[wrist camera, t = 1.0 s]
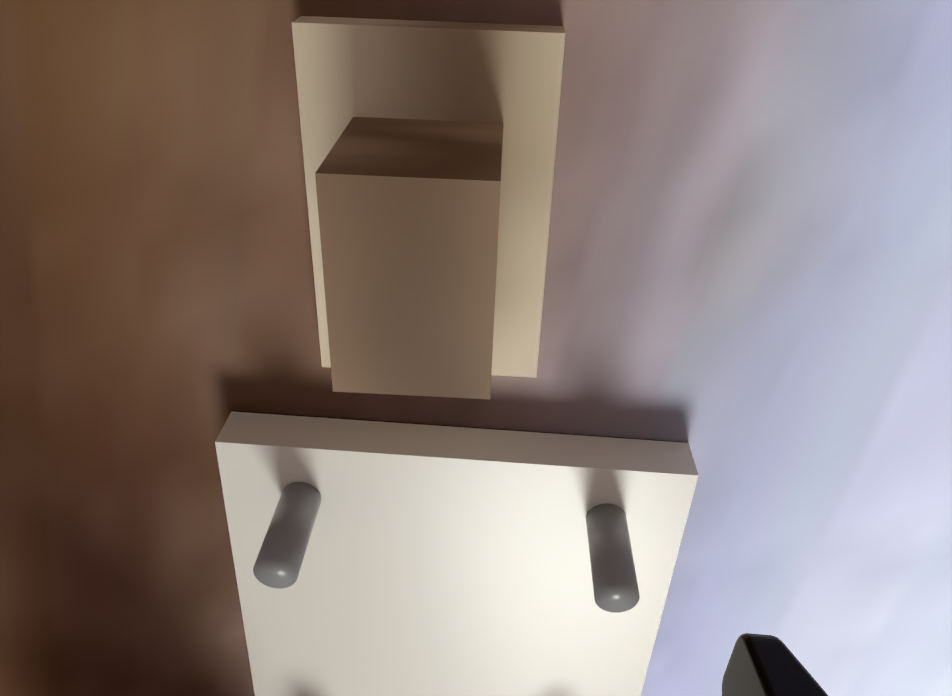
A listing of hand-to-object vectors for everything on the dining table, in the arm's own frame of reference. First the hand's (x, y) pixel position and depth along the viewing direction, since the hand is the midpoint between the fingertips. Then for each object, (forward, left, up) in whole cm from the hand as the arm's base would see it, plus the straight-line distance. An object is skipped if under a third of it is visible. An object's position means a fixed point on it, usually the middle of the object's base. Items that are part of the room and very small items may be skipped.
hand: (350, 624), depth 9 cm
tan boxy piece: (0, 0, -13) cm, 13 cm away
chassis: (+1, -15, -13) cm, 20 cm away
